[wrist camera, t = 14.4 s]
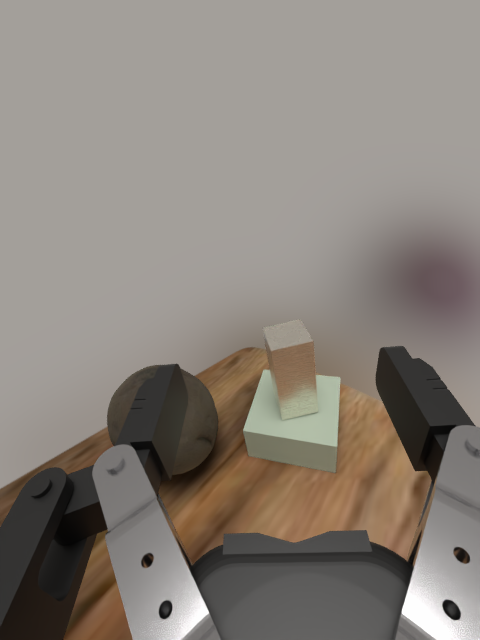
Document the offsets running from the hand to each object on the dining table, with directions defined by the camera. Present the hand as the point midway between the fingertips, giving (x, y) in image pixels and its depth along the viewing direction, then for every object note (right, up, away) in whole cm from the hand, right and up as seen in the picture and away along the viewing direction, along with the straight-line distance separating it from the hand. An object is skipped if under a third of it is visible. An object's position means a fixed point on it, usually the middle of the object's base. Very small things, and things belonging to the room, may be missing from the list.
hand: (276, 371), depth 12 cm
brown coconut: (-11, -18, +33) cm, 39 cm away
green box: (+7, -15, +34) cm, 38 cm away
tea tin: (+6, -10, +31) cm, 33 cm away
